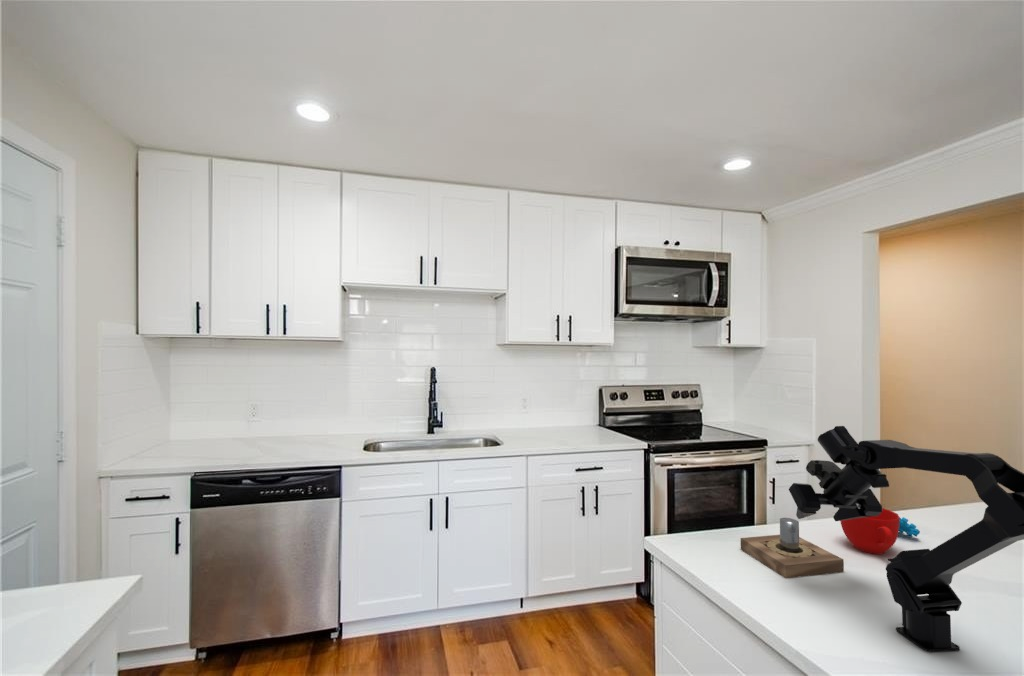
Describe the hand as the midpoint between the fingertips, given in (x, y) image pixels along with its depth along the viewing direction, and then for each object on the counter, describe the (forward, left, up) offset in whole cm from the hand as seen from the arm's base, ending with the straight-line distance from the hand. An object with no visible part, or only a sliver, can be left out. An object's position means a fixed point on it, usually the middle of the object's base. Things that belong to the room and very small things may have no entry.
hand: (816, 518), depth 111 cm
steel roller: (+8, +2, -13) cm, 16 cm away
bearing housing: (+8, +2, -13) cm, 16 cm away
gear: (+21, -39, -14) cm, 46 cm away
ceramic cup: (+11, -23, -14) cm, 29 cm away
